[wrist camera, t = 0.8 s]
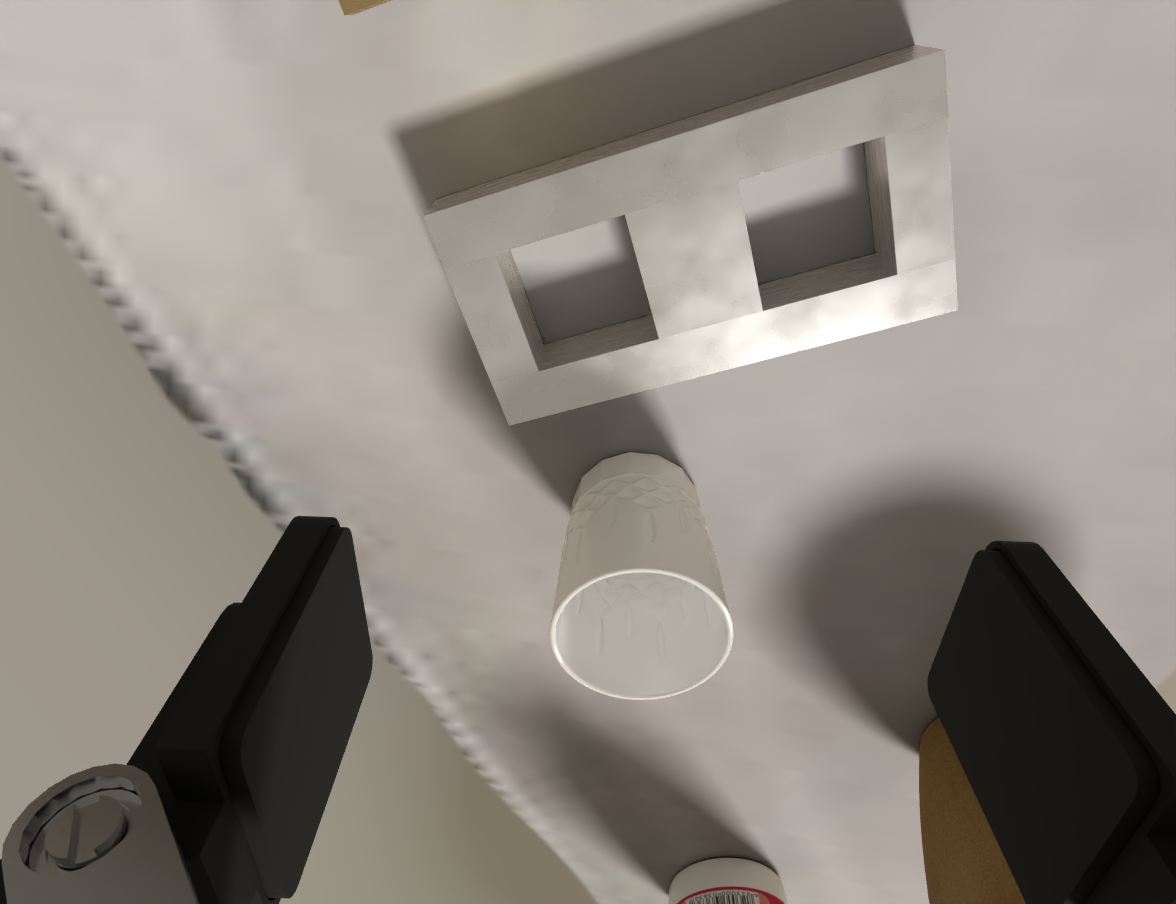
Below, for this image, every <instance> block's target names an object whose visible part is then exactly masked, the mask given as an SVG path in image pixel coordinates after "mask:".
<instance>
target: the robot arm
mask: <svg viewBox="0 0 1176 904" xmlns="http://www.w3.org/2000/svg"><path fill="white" fill-rule="evenodd" d="M372 658H373V657H372V650H371V644H370V638H369V632H368V626H367V620H366V615H365V609H364V603H363V597H362V591H361V586H360V580H359V574H358V568H357V562H356V556H355V551H354V545H353V539H352V534H351V531H350V529H349V528H347V527H340V525H339V522H338V520H337V519H336V518H334V517H312V516H297V517H294V518H293V520H292V521H291V522H290V524H289V525H288V527H287V529H286V530H285V532H284V534H283V535H282V537H281V539H280V540H279V542H278V544H277V545H276V547H275V549H274V550H273V552H272V554H271V555H270V557H269V559H268V560H267V562H266V564H265V565H264V567H263V568H262V570H261V572H260V573H259V575H258V577H257V578H256V580H255V582H254V584H253V585H252V587H251V588H250V590H249V592H248V593H247V595H246V597H245V598H244V600H243V602H242V603H233V604H231V605H229V606H227V608H226V609H225V610H224V611H223V612H222V614H221V615H220V617H219V618H218V620H217V621H216V623H215V625H214V626H213V628H212V629H211V631H210V633H209V634H208V636H207V637H206V639H205V640H204V642H203V644H202V645H201V647H200V649H199V650H198V652H197V653H196V655H195V656H194V658H193V660H192V661H191V663H190V664H189V666H188V668H187V669H186V671H185V672H184V674H183V676H182V677H181V679H180V680H179V682H178V684H177V685H176V687H175V688H174V690H173V692H172V693H171V695H170V696H169V698H168V699H167V701H166V703H165V704H164V706H163V708H162V709H161V711H160V712H159V714H158V716H157V717H156V719H155V720H154V722H153V724H152V725H151V727H150V728H149V730H148V731H147V733H146V735H145V736H144V738H143V739H142V741H141V743H140V744H139V746H138V747H137V749H136V751H135V752H134V754H133V755H132V757H131V759H130V760H129V762H128V763H127V765H122V764H109V765H103V766H96V767H92V768H89V769H86V770H84V771H81V772H78V773H76V774H73V775H70V776H69V777H67V778H65V779H63V780H62V781H60V782H58V783H57V784H55V785H53V786H52V787H50V788H48V789H47V790H46V791H45V792H43V793H42V794H41V795H40V796H39V797H38V798H36V799H35V800H34V801H33V802H31V803H30V804H29V805H28V806H27V807H26V809H25V810H24V811H23V812H22V814H21V815H20V816H19V817H18V818H17V820H16V821H15V822H14V823H13V825H12V827H11V829H10V831H9V833H8V835H7V837H6V840H5V842H4V844H3V852H2V859H1V860H0V904H279V902H280V899H281V898H291V897H292V896H293V894H294V893H295V891H296V889H297V887H298V884H299V881H300V878H301V875H302V873H303V870H304V867H305V864H306V861H307V858H308V855H309V853H310V850H311V846H312V844H313V841H314V838H315V835H316V832H317V829H318V827H319V824H320V821H321V818H322V815H323V812H324V809H325V807H326V804H327V801H328V798H329V795H330V792H331V789H332V786H333V783H334V781H335V778H336V775H337V772H338V769H339V766H340V763H341V760H342V758H343V755H344V752H345V749H346V746H347V743H348V740H349V737H350V735H351V732H352V729H353V726H354V723H355V720H356V717H357V714H358V712H359V708H360V705H361V703H362V700H363V697H364V694H365V691H366V688H367V686H368V683H369V679H370V676H371V671H372ZM928 692H929V696H930V699H931V701H932V704H933V706H934V708H935V710H936V712H937V714H938V716H939V719H940V721H941V723H942V725H943V727H944V729H945V731H946V734H947V736H948V738H949V740H950V742H951V744H952V746H953V749H954V751H955V753H956V755H957V757H958V759H959V761H960V764H961V766H962V768H963V770H964V772H965V774H966V776H967V779H968V781H969V783H970V785H971V787H972V789H973V791H974V794H975V796H976V798H977V800H978V802H979V804H980V806H981V809H982V811H983V813H984V815H985V817H986V819H987V821H988V824H989V826H990V828H991V830H992V832H993V834H994V836H995V839H996V841H997V843H998V845H999V847H1000V849H1001V851H1002V853H1003V856H1004V858H1005V860H1006V862H1007V864H1008V866H1009V868H1010V871H1011V873H1012V875H1013V877H1014V879H1015V881H1016V883H1017V886H1018V888H1019V890H1020V892H1021V894H1022V896H1023V898H1024V901H1025V903H1026V904H1176V714H1175V713H1174V712H1173V711H1172V709H1171V708H1170V707H1169V706H1168V705H1167V703H1166V702H1165V701H1164V700H1163V698H1162V697H1161V696H1160V694H1159V693H1158V692H1157V691H1156V689H1155V688H1154V687H1153V686H1152V684H1151V683H1150V682H1149V681H1148V679H1147V678H1146V677H1145V676H1144V674H1143V673H1142V672H1141V671H1140V669H1139V668H1138V667H1137V666H1136V664H1135V663H1134V662H1133V661H1132V659H1131V658H1130V657H1129V656H1128V654H1127V653H1126V652H1125V651H1124V649H1123V648H1122V647H1121V646H1120V644H1119V643H1118V642H1117V641H1116V639H1115V638H1114V637H1113V636H1112V634H1111V633H1110V632H1109V631H1108V629H1107V628H1106V627H1105V626H1104V624H1103V623H1102V622H1101V621H1100V619H1099V618H1098V617H1097V616H1096V614H1095V613H1094V612H1093V611H1092V609H1091V608H1090V607H1089V606H1088V604H1087V603H1086V602H1085V601H1084V599H1083V598H1082V597H1081V596H1080V594H1079V593H1078V592H1077V591H1076V589H1075V588H1074V587H1073V586H1072V584H1071V583H1070V582H1069V581H1068V579H1067V578H1066V577H1065V576H1064V574H1063V573H1062V572H1061V571H1060V569H1059V568H1058V567H1057V566H1056V564H1055V563H1054V562H1053V561H1052V560H1051V558H1050V557H1049V556H1048V555H1047V553H1046V552H1045V551H1044V550H1043V548H1042V547H1040V546H1039V545H1038V544H1036V543H1033V542H1012V541H994V542H991V543H990V544H989V545H988V546H987V548H986V549H985V550H981V551H978V552H977V553H976V555H975V556H974V558H973V561H972V563H971V566H970V569H969V571H968V574H967V576H966V579H965V582H964V584H963V587H962V589H961V592H960V594H959V597H958V600H957V602H956V605H955V607H954V610H953V613H952V615H951V618H950V620H949V623H948V625H947V628H946V631H945V633H944V636H943V638H942V641H941V644H940V646H939V649H938V651H937V654H936V657H935V659H934V662H933V664H932V667H931V669H930V672H929V676H928Z"/></svg>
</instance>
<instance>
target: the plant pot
mask: <svg viewBox="0 0 1176 904" xmlns="http://www.w3.org/2000/svg"><path fill="white" fill-rule="evenodd" d="M919 797H920V820H921V833H922V845H923V855H924V865H925V873H926V881H927V889H928V897H929V903H930V904H1026V903H1025V901H1024V898H1023V896H1022V894H1021V892H1020V890H1019V888H1018V886H1017V883H1016V881H1015V879H1014V877H1013V875H1012V873H1011V871H1010V868H1009V866H1008V864H1007V862H1006V860H1005V858H1004V856H1003V853H1002V851H1001V849H1000V847H999V845H998V843H997V841H996V839H995V836H994V834H993V832H992V830H991V828H990V826H989V824H988V821H987V819H986V817H985V815H984V813H983V811H982V809H981V806H980V804H979V802H978V800H977V798H976V796H975V794H974V791H973V789H972V787H971V785H970V783H969V781H968V779H967V776H966V774H965V772H964V770H963V768H962V766H961V764H960V761H959V759H958V757H957V755H956V753H955V751H954V749H953V746H952V744H951V742H950V740H949V738H948V736H947V734H946V731H945V729H944V727H943V725H942V723H941V721H940V719H939V717H938V718H937V719H935V720H934V721H933V722H932V723H931V724H930V725H929V726H928V727H927V728H926V730H925V731H924V733H923V735H922V737H921V741H920V755H919Z"/></svg>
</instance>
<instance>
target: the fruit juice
mask: <svg viewBox="0 0 1176 904" xmlns="http://www.w3.org/2000/svg"><path fill="white" fill-rule="evenodd" d="M668 904H788V902H787V897H786V894H785V891H784V887H783V885H782V883H781V881H780V879H779V877H778V876H777V875H776V873H775V872H773V871H772V870H771V869H770V868H768V867H766V866H764V865H762V864H760V863H757V862H754V861H751V860H747V859H740V858H715V859H709V860H704V861H701V862H698V863H695V864H693V865H690V866H688V867H687V868H685V869H683V870H682V871H681V872H679V873H678V874H677V875H676V876H675V878H674V879H673V881H672V883H671V886H670V890H669V900H668Z"/></svg>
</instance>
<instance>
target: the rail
mask: <svg viewBox="0 0 1176 904" xmlns="http://www.w3.org/2000/svg"><path fill="white" fill-rule="evenodd" d="M863 142H864V150H865V160H866V169H867V179H868V188H869V198H870V207H871V216H872V226H873V235H874V245H875V253H873V254H869V255H866V256H862V257H858V258H855V259H851V260H847V261H844V262H840V263H837V264H833V265H829V266H826V267H822V268H819V269H815V270H811V271H808V272H804V273H800V274H797V275H793V276H790V277H786V278H782V279H779V280H775V281H771V282H768V283H764V284H761V285H758V283H757V278H756V272H755V267H754V262H753V257H752V252H751V247H750V241H749V236H748V231H747V226H746V221H745V216H744V210H743V205H742V200H741V195H740V190H739V184H738V180H741V179H744V178H748V177H751V176H754V175H757V174H761V173H764V172H767V171H771V170H774V169H777V168H781V167H784V166H787V165H790V164H794V163H797V162H800V161H804V160H807V159H810V158H814V157H817V156H820V155H823V154H827V153H830V152H833V151H837V150H840V149H843V148H847V147H850V146H853V145H856V144H860V143H863ZM622 215H625V217H626V221H627V225H628V228H629V232H630V236H631V239H632V243H633V246H634V250H635V254H636V257H637V261H638V265H639V268H640V272H641V276H642V279H643V283H644V286H645V290H646V294H647V297H648V301H649V305H650V308H651V312H652V315H648V316H645V317H641V318H637V319H634V320H630V321H627V322H623V323H619V324H616V325H612V326H609V327H605V328H601V329H598V330H594V331H590V332H587V333H583V334H580V335H576V336H572V337H569V338H565V339H561V340H558V341H554V342H551V343H547V344H544V342H543V340H542V337H541V334H540V331H539V329H538V326H537V323H536V320H535V318H534V315H533V312H532V309H531V307H530V304H529V301H528V298H527V296H526V293H525V290H524V287H523V285H522V282H521V279H520V276H519V274H518V271H517V268H516V265H515V263H514V260H513V257H512V254H511V252H510V249H513V248H516V247H520V246H523V245H526V244H530V243H533V242H536V241H540V240H543V239H546V238H549V237H553V236H556V235H559V234H563V233H566V232H569V231H573V230H576V229H579V228H582V227H586V226H589V225H592V224H596V223H599V222H602V221H606V220H609V219H612V218H615V217H619V216H622ZM422 218H423V220H424V222H425V225H426V227H427V230H428V232H429V234H430V237H431V239H432V242H433V244H434V246H435V249H436V251H437V254H438V256H439V258H440V261H441V263H442V266H443V268H444V270H445V273H446V275H447V278H448V280H449V283H450V285H451V287H452V290H453V292H454V295H455V297H456V299H457V302H458V304H459V307H460V309H461V311H462V314H463V316H464V319H465V321H466V323H467V326H468V328H469V331H470V333H471V336H472V338H473V340H474V343H475V345H476V348H477V350H478V352H479V355H480V357H481V360H482V362H483V364H484V367H485V369H486V372H487V374H488V376H489V379H490V381H491V384H492V386H493V388H494V391H495V393H496V396H497V398H498V401H499V403H500V405H501V408H502V410H503V413H504V415H505V417H506V420H507V422H508V425H509V426H510V425H514V424H518V423H522V422H526V421H530V420H533V419H537V418H541V417H545V416H549V415H553V414H557V413H561V412H564V411H568V410H572V409H576V408H580V407H584V406H588V405H592V404H596V403H599V402H603V401H607V400H611V399H615V398H619V397H623V396H627V395H630V394H634V393H638V392H642V391H646V390H650V389H654V388H658V387H662V386H665V385H669V384H673V383H677V382H681V381H685V380H689V379H693V378H696V377H700V376H704V375H708V374H712V373H716V372H720V371H724V370H727V369H731V368H735V367H739V366H743V365H747V364H751V363H755V362H759V361H762V360H766V359H770V358H774V357H778V356H782V355H786V354H790V353H793V352H797V351H801V350H805V349H809V348H813V347H817V346H821V345H825V344H828V343H832V342H836V341H840V340H844V339H848V338H852V337H856V336H859V335H863V334H867V333H871V332H875V331H879V330H883V329H887V328H890V327H894V326H898V325H902V324H906V323H910V322H914V321H918V320H922V319H925V318H929V317H933V316H937V315H941V314H945V313H949V312H953V311H956V310H958V307H957V287H956V267H955V247H954V227H953V206H952V186H951V166H950V146H949V126H948V105H947V85H946V65H945V50H943V49H937V48H931V47H925V46H919V45H913V46H910V47H907V48H903V49H900V50H897V51H894V52H891V53H888V54H885V55H882V56H879V57H875V58H872V59H869V60H866V61H863V62H860V63H857V64H854V65H851V66H848V67H844V68H841V69H838V70H835V71H832V72H829V73H826V74H823V75H820V76H817V77H813V78H810V79H807V80H804V81H801V82H798V83H795V84H792V85H789V86H785V87H782V88H779V89H776V90H773V91H770V92H767V93H764V94H761V95H758V96H754V97H751V98H748V99H745V100H742V101H739V102H736V103H733V104H730V105H726V106H723V107H720V108H717V109H714V110H711V111H708V112H705V113H702V114H699V115H695V116H692V117H689V118H686V119H683V120H680V121H677V122H674V123H671V124H668V125H664V126H661V127H658V128H655V129H652V130H649V131H646V132H643V133H640V134H636V135H633V136H630V137H627V138H624V139H621V140H618V141H615V142H612V143H609V144H605V145H602V146H599V147H596V148H593V149H590V150H587V151H584V152H581V153H577V154H574V155H571V156H568V157H565V158H562V159H559V160H556V161H553V162H550V163H546V164H543V165H540V166H537V167H534V168H531V169H528V170H525V171H522V172H518V173H515V174H512V175H509V176H506V177H503V178H500V179H497V180H494V181H491V182H487V183H484V184H481V185H478V186H475V187H472V188H469V189H466V190H463V191H460V192H456V193H453V194H450V195H447V196H444V197H441V198H438V199H437V200H436V201H435V202H434V203H433V204H432V205H431V207H430V208H429V209H428V210H427V211H426V212H425V214H424V215H423V216H422Z"/></svg>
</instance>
